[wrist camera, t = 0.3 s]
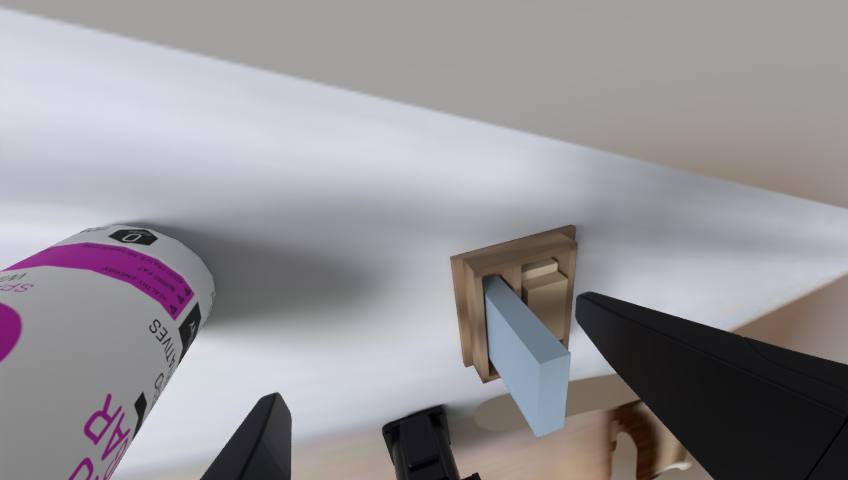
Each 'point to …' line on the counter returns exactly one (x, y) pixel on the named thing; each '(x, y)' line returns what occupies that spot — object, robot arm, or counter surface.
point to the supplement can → (92, 347)
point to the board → (526, 357)
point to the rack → (508, 268)
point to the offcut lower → (538, 268)
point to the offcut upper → (547, 300)
